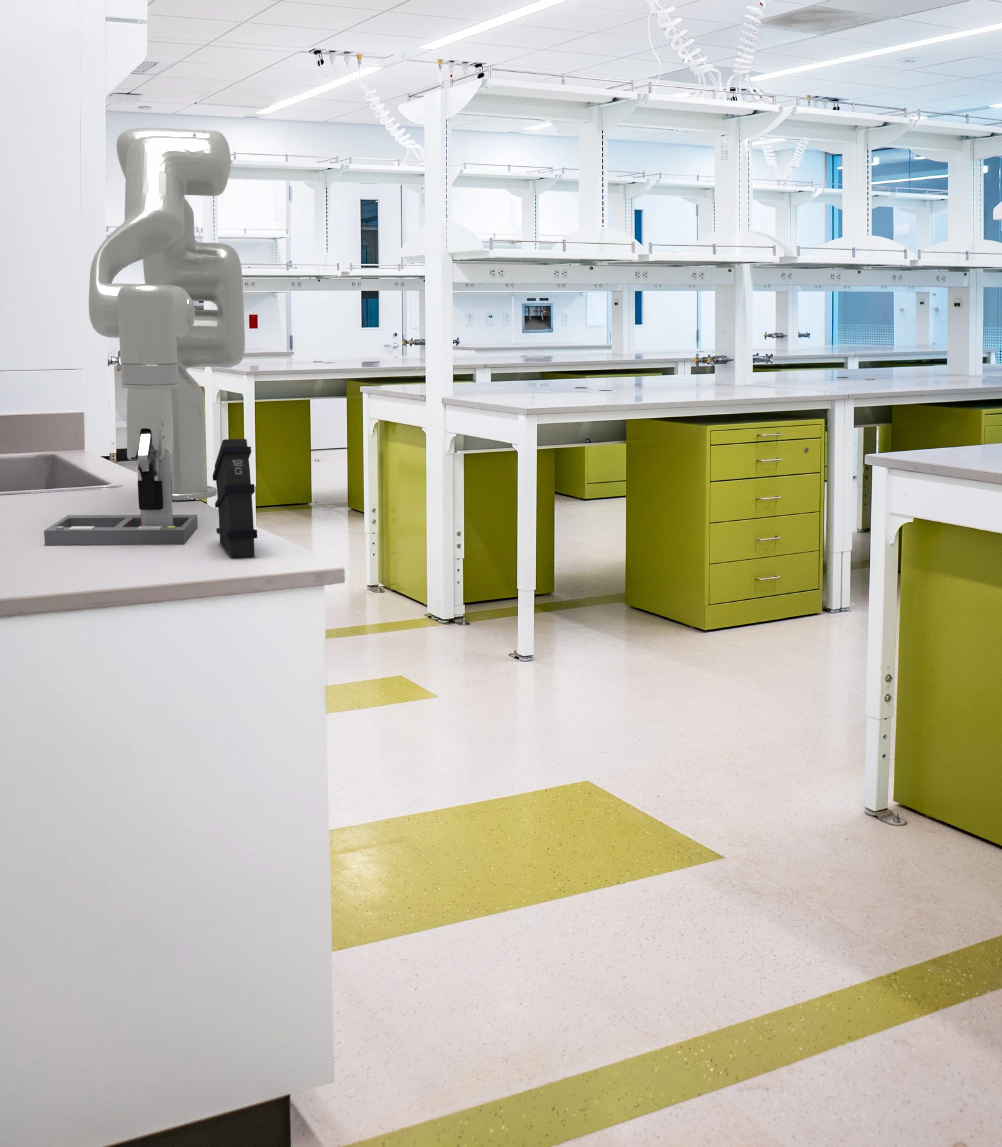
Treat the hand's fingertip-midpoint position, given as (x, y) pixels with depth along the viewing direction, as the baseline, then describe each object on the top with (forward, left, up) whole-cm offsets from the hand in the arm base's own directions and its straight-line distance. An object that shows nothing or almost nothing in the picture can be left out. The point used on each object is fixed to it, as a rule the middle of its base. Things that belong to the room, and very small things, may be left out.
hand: (155, 504), depth 167 cm
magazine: (+10, +12, -5) cm, 16 cm away
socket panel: (0, -4, -4) cm, 6 cm away
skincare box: (0, 0, -4) cm, 4 cm away
